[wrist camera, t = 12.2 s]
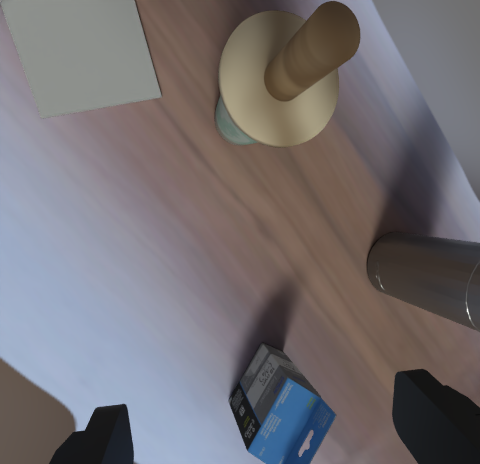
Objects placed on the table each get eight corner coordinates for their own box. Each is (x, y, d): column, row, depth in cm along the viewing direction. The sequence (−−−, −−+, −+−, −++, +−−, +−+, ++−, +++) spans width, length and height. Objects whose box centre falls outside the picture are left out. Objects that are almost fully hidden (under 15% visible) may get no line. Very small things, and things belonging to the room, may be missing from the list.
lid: (320, 10, 25) (394, -72, 17) (343, 134, 26) (418, 108, 19) (203, 23, 22) (229, -66, 15) (236, 159, 24) (275, 141, 16)
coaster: (127, -24, 31) (126, -27, 30) (161, 97, 33) (161, 96, 33) (-5, -14, 28) (-7, -17, 28) (42, 118, 30) (40, 117, 30)
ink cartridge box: (261, 340, 40) (307, 399, 28) (284, 351, 41) (338, 413, 29) (226, 400, 39) (259, 487, 27) (251, 410, 40) (292, 497, 28)
